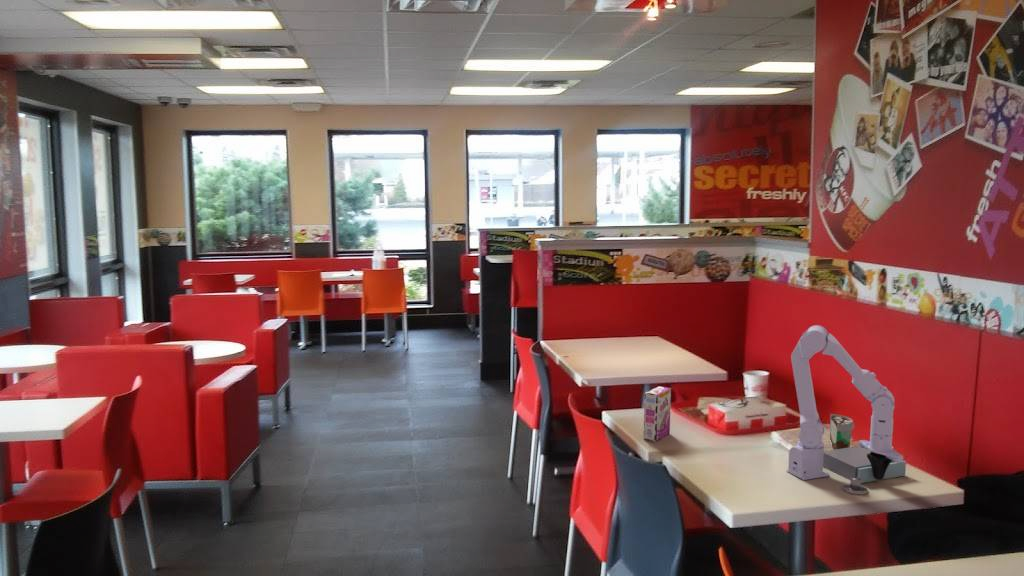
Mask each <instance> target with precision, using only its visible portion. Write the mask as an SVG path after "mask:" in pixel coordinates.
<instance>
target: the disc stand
mask: <svg viewBox="0 0 1024 576" xmlns="http://www.w3.org/2000/svg"><path fill="white" fill-rule="evenodd" d="M861 484H862V483H861V479H860V478H858V477H851V480H850V483H848V484H845V485H844V484H843V486H842V491H844V492H845V493H847V492H848V493H847V494H850V493H851V494H850V495H854V494H864V495H867V494H868V493H869V491H868V488H867V487H865V486H863V485H861ZM867 492H868V493H867ZM866 493H867V494H866Z"/></svg>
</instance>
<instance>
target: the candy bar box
mask: <svg viewBox="0 0 1024 576" xmlns="http://www.w3.org/2000/svg"><path fill="white" fill-rule="evenodd" d="M671 402H672V387H666V386H657V387H655V388H652V389H650V390H648V391H645V392H644V406H643V407H644V411H643V412H644V413H643V438H642V439H643V440H644V439H647V440H646V441H649V440H652V441H651V442H653V441H656V442H658V441H659V440H662V439H663V438H664V437H666V436H668V435H669V434H670V433H671V432H670V430H671V406H672V405H671Z"/></svg>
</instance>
